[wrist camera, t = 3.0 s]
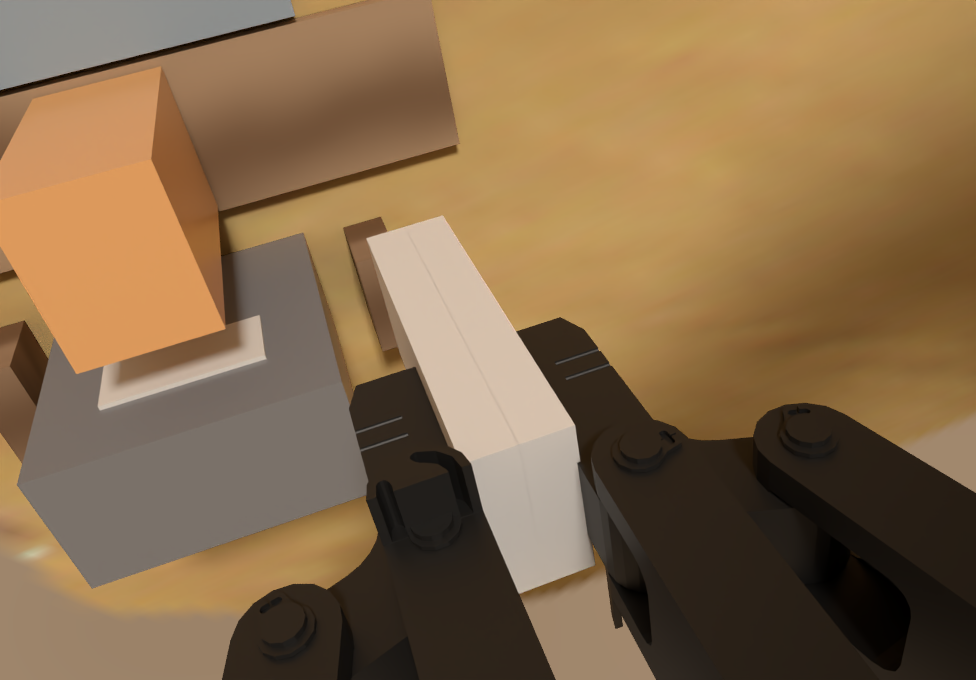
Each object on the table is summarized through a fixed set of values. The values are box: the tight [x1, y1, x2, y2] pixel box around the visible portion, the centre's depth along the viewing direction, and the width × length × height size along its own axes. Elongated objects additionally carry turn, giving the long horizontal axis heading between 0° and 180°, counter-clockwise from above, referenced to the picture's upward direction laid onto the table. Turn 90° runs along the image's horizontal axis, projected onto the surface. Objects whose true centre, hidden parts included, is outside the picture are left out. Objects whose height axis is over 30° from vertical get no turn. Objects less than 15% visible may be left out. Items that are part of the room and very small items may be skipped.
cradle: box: [0, 0, 460, 463], centre depth 28 cm, size 12×23×3 cm, turn 100°
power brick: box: [17, 233, 368, 588], centre depth 28 cm, size 5×9×10 cm, turn 100°
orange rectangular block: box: [0, 66, 226, 374], centre depth 24 cm, size 5×4×8 cm
